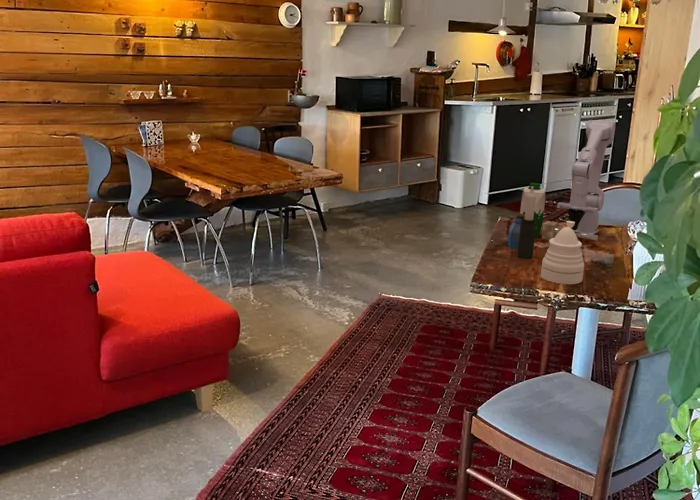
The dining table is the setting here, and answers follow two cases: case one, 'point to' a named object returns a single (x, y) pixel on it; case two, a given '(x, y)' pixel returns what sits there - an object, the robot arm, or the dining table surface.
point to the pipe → (581, 235)
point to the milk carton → (538, 205)
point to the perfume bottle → (515, 232)
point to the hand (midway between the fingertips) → (574, 229)
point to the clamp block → (549, 230)
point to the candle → (527, 229)
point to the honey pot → (564, 258)
